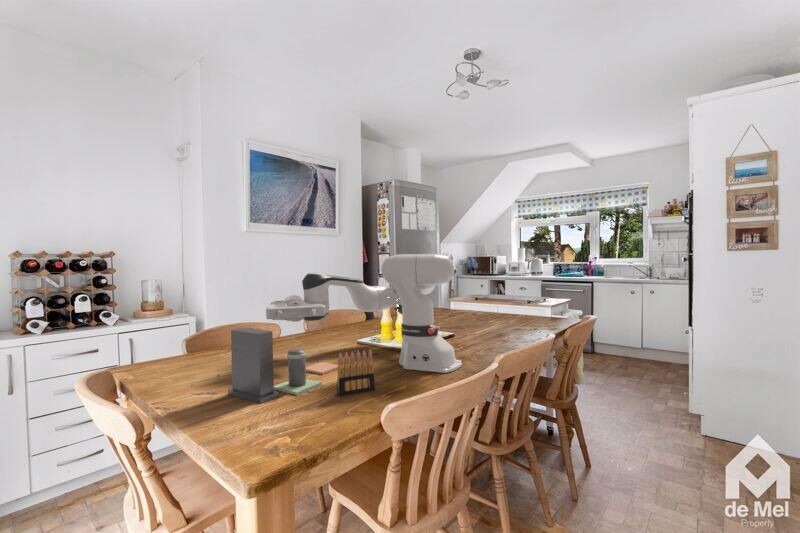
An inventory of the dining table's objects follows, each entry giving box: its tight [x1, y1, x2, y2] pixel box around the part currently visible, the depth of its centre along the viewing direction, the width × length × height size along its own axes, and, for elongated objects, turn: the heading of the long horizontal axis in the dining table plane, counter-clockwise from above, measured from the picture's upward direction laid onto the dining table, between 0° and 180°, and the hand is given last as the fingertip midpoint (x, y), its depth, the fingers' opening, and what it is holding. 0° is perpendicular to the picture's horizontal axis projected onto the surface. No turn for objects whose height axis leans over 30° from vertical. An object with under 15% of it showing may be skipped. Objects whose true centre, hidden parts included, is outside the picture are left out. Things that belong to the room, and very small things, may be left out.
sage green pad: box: [274, 378, 323, 396], centre depth 115 cm, size 10×10×1 cm
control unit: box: [227, 327, 280, 404], centre depth 108 cm, size 14×6×18 cm, turn 59°
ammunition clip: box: [336, 348, 376, 397], centre depth 110 cm, size 11×2×12 cm, turn 115°
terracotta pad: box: [306, 361, 338, 376], centre depth 133 cm, size 9×9×1 cm
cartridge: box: [287, 348, 307, 387], centre depth 115 cm, size 5×5×10 cm
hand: (297, 314), depth 130 cm, fingers open, 8 cm apart
